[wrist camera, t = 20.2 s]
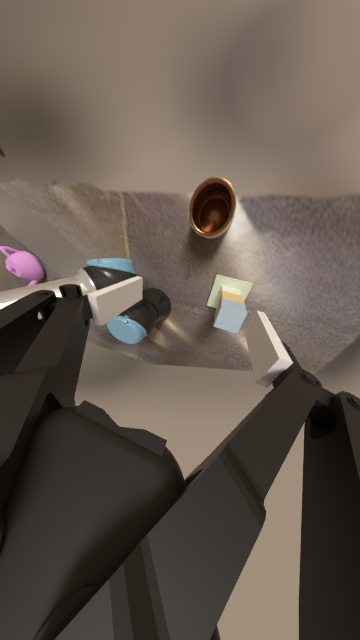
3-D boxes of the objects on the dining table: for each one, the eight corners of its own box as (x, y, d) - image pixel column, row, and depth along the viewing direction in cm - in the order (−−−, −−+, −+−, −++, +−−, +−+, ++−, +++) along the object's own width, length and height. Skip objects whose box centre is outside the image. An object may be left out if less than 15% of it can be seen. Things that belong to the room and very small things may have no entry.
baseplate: (207, 304, 51) (204, 312, 45) (216, 274, 44) (215, 278, 39) (237, 313, 49) (238, 322, 43) (252, 283, 43) (256, 289, 37)
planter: (235, 232, 37) (238, 229, 29) (199, 243, 41) (192, 243, 34) (232, 183, 33) (235, 163, 25) (192, 201, 37) (183, 189, 29)
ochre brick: (216, 307, 43) (215, 315, 38) (222, 290, 40) (222, 297, 35) (234, 312, 42) (235, 321, 37) (242, 295, 39) (244, 303, 34)
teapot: (40, 285, 76) (16, 291, 67) (16, 247, 66) (-16, 248, 58) (55, 285, 72) (32, 290, 63) (31, 244, 62) (0, 244, 53)
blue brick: (215, 315, 38) (213, 326, 33) (221, 297, 35) (221, 306, 30) (235, 321, 37) (236, 333, 32) (244, 303, 34) (247, 313, 29)
